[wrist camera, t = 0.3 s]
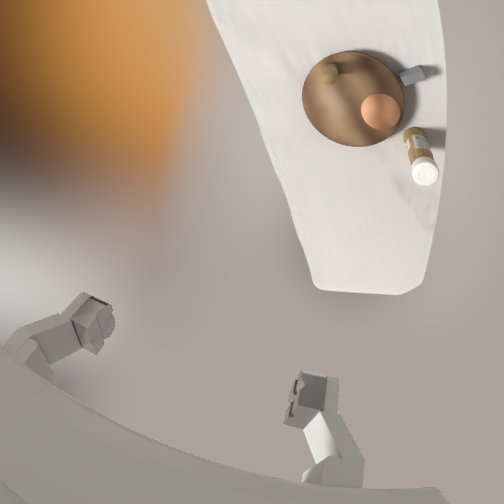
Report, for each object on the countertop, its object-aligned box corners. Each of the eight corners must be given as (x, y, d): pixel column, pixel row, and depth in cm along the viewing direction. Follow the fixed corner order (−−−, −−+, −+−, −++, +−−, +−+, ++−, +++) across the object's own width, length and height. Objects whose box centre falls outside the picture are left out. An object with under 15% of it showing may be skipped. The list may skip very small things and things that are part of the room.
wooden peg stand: (370, 35, 35) (373, 41, 30) (418, 122, 44) (426, 142, 39) (284, 80, 47) (273, 93, 42) (336, 155, 55) (333, 176, 50)
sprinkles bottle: (398, 137, 48) (406, 175, 40) (412, 121, 45) (425, 157, 37) (415, 151, 49) (426, 191, 41) (429, 136, 46) (445, 174, 37)
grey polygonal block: (417, 65, 36) (422, 69, 34) (421, 73, 37) (426, 78, 35) (397, 73, 39) (400, 78, 37) (402, 80, 40) (405, 86, 38)
